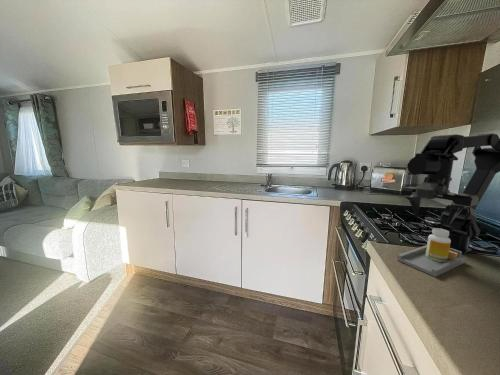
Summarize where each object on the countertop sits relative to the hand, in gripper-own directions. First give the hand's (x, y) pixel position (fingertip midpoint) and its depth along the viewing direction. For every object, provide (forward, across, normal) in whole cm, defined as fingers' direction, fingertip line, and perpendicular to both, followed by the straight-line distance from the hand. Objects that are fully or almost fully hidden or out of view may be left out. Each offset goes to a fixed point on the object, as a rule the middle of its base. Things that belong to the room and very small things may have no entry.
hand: (431, 219), depth 70 cm
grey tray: (+12, +4, -6) cm, 14 cm away
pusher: (+12, +4, +1) cm, 13 cm away
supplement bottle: (+12, +4, -3) cm, 13 cm away
